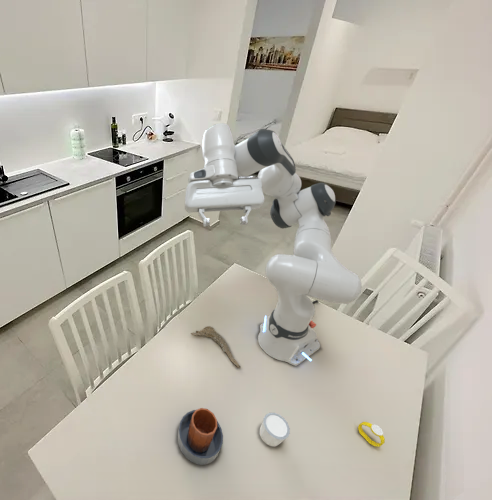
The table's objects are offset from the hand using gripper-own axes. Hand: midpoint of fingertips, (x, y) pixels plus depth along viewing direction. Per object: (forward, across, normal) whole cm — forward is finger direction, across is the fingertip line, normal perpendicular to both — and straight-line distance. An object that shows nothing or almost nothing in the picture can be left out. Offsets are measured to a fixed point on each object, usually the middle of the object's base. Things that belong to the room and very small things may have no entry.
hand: (225, 225), depth 73 cm
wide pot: (+56, +8, -24) cm, 61 cm away
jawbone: (+32, 0, -43) cm, 54 cm away
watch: (+56, -40, -31) cm, 75 cm away
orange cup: (+55, +8, -24) cm, 61 cm away
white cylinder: (+55, -12, -28) cm, 63 cm away
